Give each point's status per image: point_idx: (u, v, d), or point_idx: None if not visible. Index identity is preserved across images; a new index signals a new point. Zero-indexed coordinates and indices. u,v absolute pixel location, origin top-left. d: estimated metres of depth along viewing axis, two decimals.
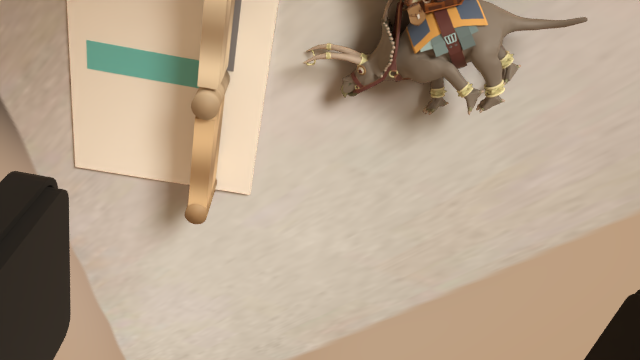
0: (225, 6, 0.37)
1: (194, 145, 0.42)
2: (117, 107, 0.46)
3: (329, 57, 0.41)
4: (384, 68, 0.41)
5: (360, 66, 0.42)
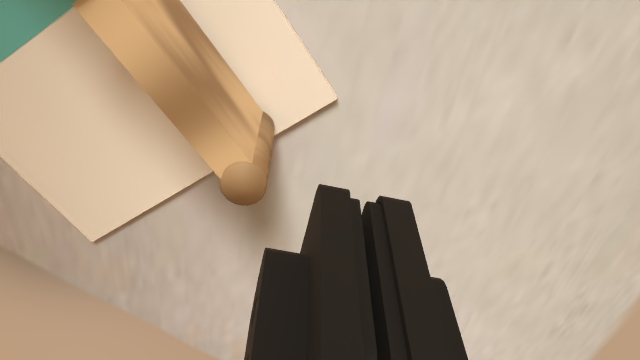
0: None
1: (123, 59, 0.19)
2: (49, 115, 0.26)
3: None
4: None
5: None
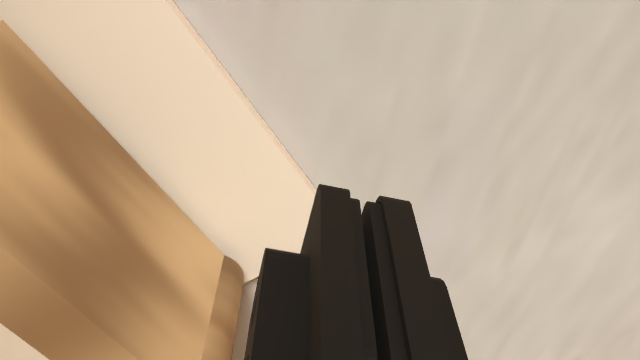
0: None
1: None
2: None
3: None
4: None
5: None
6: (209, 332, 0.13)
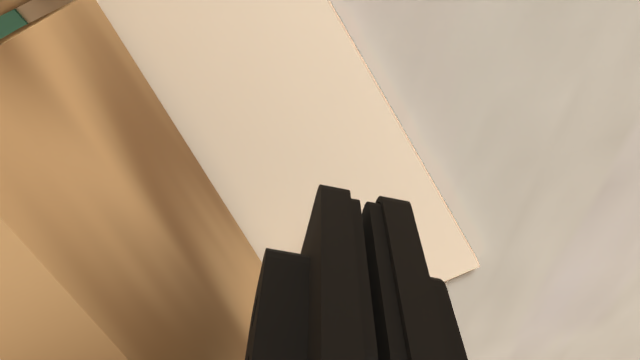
0: None
1: None
2: None
3: None
4: None
5: None
6: None
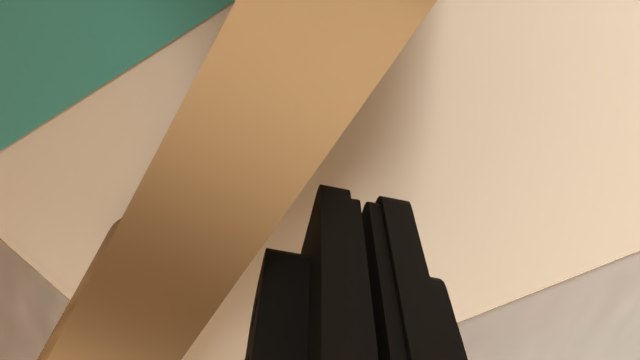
0: None
1: (200, 98, 0.05)
2: None
3: None
4: None
5: None
6: None
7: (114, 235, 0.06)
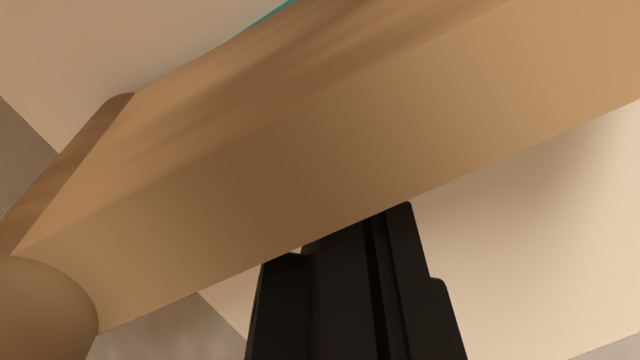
0: None
1: (498, 22, 0.05)
2: None
3: None
4: None
5: None
6: None
7: (297, 109, 0.05)
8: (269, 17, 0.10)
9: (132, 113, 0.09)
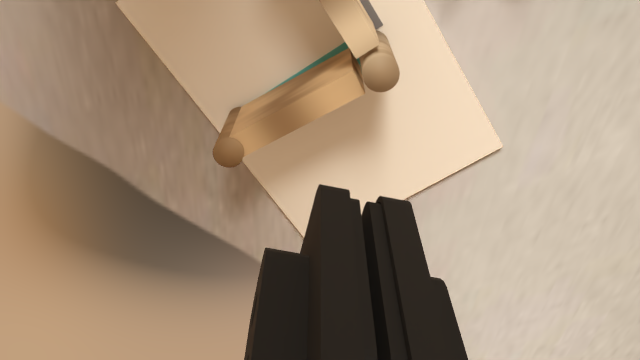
0: None
1: (316, 92, 0.30)
2: (304, 159, 0.38)
3: None
4: None
5: None
6: None
7: (284, 107, 0.31)
8: (280, 85, 0.35)
9: (244, 111, 0.35)
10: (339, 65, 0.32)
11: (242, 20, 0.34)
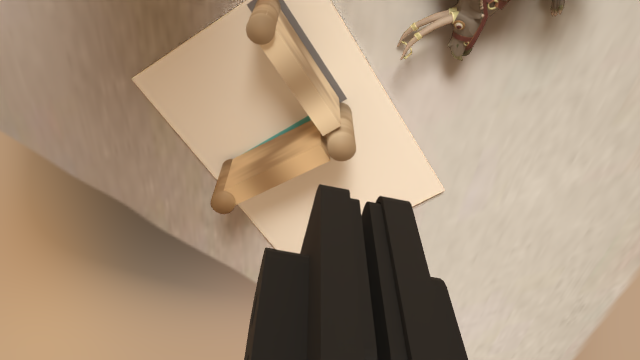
0: (291, 53, 0.35)
1: (292, 159, 0.39)
2: (284, 198, 0.47)
3: (420, 36, 0.37)
4: (480, 6, 0.35)
5: (455, 22, 0.37)
6: None
7: (267, 169, 0.39)
8: (264, 143, 0.44)
9: (235, 165, 0.43)
10: (311, 134, 0.41)
11: (234, 93, 0.42)
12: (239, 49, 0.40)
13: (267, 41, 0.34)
